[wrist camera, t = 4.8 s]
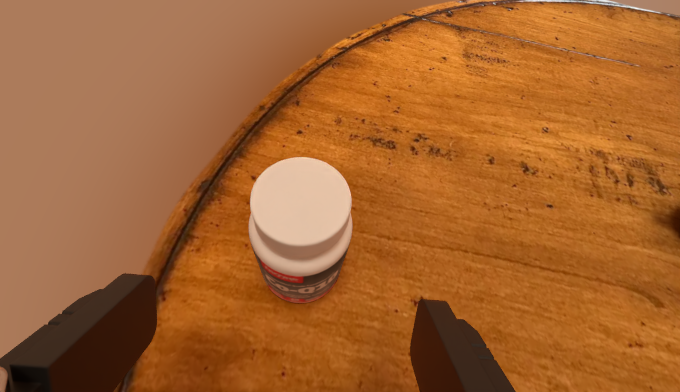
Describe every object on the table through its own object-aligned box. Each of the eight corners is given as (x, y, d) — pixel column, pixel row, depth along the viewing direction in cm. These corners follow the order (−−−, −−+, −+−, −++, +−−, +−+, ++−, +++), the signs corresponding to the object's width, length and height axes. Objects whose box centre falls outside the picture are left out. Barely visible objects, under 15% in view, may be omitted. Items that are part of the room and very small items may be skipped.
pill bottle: (263, 308, 19) (236, 262, 11) (261, 232, 21) (238, 152, 14) (345, 299, 19) (369, 250, 12) (335, 226, 22) (351, 147, 14)
